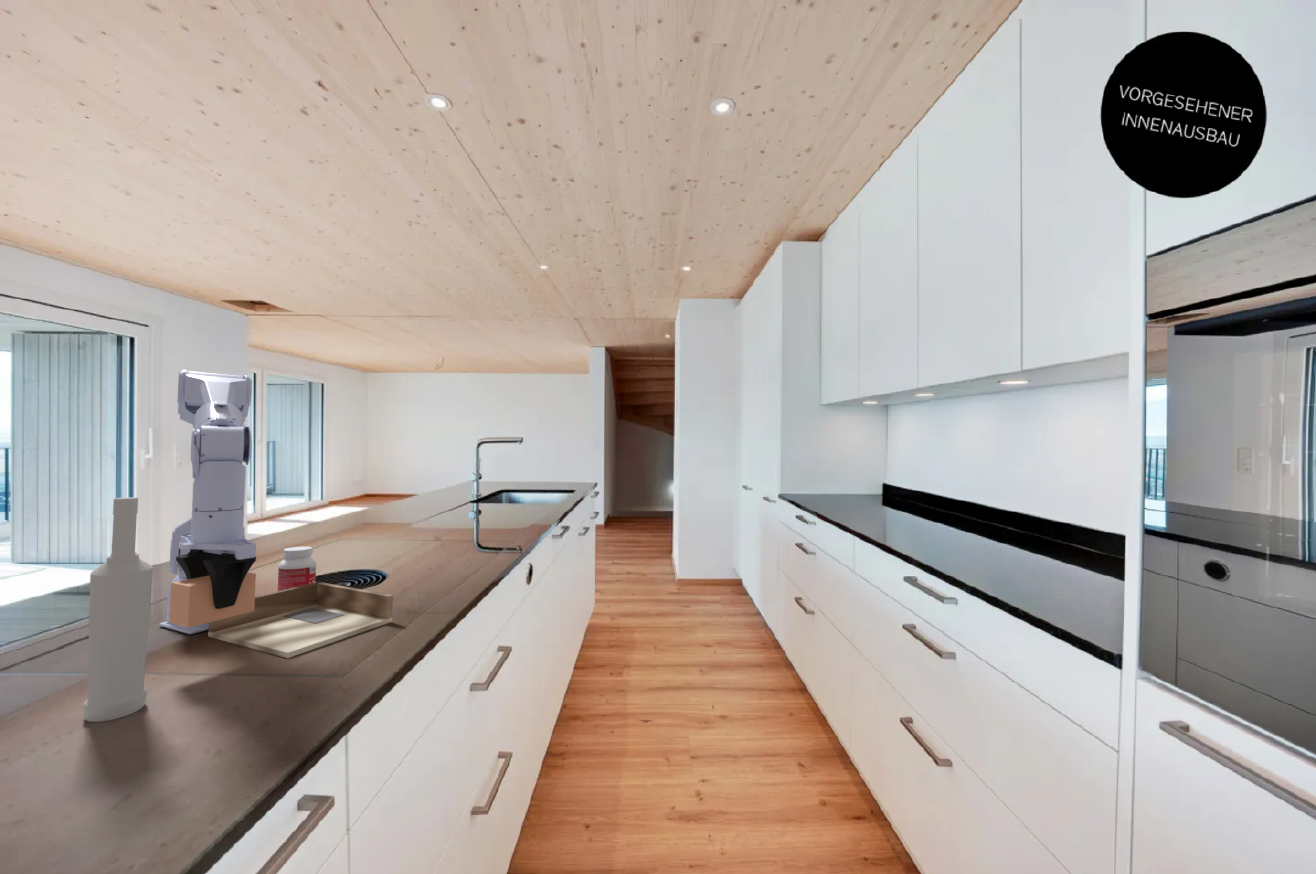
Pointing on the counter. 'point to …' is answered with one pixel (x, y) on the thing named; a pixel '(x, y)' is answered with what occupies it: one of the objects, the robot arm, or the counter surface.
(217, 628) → the tray
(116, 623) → the bottle
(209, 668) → the counter surface
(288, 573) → the pill bottle
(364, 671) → the counter surface
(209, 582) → the block
